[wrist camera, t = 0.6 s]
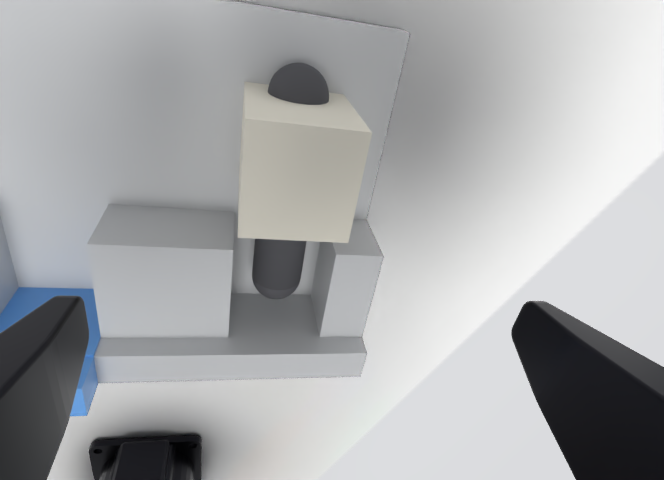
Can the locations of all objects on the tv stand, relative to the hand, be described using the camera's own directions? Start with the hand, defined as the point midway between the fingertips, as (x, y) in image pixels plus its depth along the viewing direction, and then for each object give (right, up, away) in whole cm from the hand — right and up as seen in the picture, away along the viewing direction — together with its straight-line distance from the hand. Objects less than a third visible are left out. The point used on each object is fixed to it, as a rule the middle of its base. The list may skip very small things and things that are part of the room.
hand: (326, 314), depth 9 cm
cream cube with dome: (-2, +4, +10) cm, 11 cm away
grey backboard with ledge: (-7, +4, +10) cm, 13 cm away
